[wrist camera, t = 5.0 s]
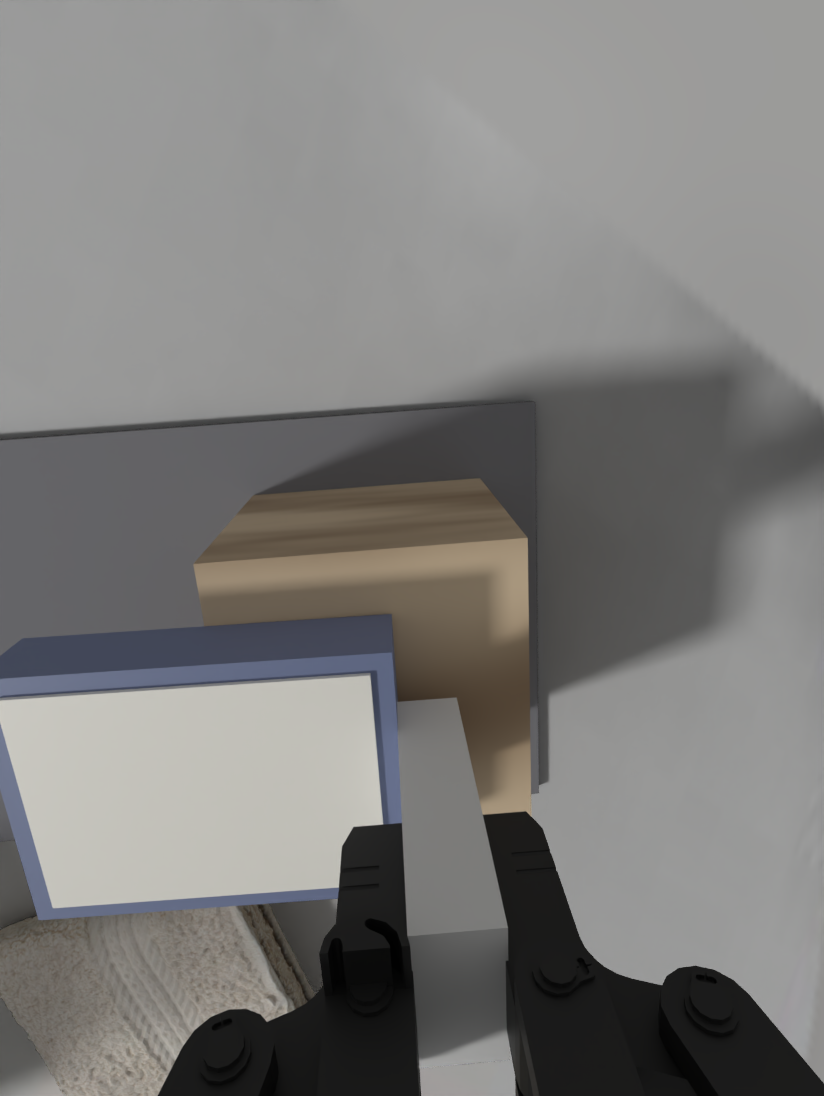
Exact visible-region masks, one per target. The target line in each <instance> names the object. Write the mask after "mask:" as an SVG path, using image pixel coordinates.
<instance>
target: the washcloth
mask: <svg viewBox="0 0 824 1096" xmlns="http://www.w3.org/2000/svg"><path fill="white" fill-rule="evenodd" d="M314 996H315V994H314V992H313V991H312V988H311V986H310V985H309V982H308V980H307V978H306V976H305V974H304V972H303V971H302V969H301V967H300V965H299V963H298V961H297V960H296V958H295V955H294V953H293V952H292V949H291V947H290V946H289V943H288V941H287V940H286V938H285V936H284V934H283V933H282V931H281V929H280V927H279V924H278V922H277V921H276V918H275V916H274V914H273V912H272V909H271V907H270V905H269V904H256V905H242V906H228V907H215V908H201V909H187V910H174V911H160V912H146V913H133V914H119V915H106V916H92V917H78V918H65V919H51V920H38V917H37V915H36V916H35V917H33V918H28V919H25V920H23V921H20V922H17V923H15V924H11V925H9V926H7V927H5V928H3V929H2V930H0V998H1V999H3V1000H4V1001H5V1004H6V1006H7V1008H8V1009H9V1010H10V1011H11V1012H12V1013H13V1015H12V1016H13V1017H15V1021H16V1022H17V1023H18V1024H19V1025H21V1026H22V1027H23V1028H24V1030H25V1031H26V1032H27V1033H29V1034H28V1037H27V1038H28V1040H31V1041H32V1042H33V1043H34V1044H35V1047H36V1051H38V1052H39V1054H40V1055H41V1057H42V1059H43V1060H44V1061H45V1063H46V1066H47V1067H48V1068H49V1071H50V1073H51V1074H52V1075H53V1076H54V1077H55V1080H56V1081H57V1084H58V1086H59V1087H60V1091H62V1094H66V1096H158V1094H159V1092H160V1090H161V1088H162V1086H163V1084H164V1082H165V1080H166V1078H167V1076H168V1074H169V1072H170V1070H171V1068H172V1066H173V1065H174V1063H175V1061H176V1059H177V1057H178V1055H179V1053H180V1051H181V1049H182V1047H183V1046H184V1044H185V1043H186V1041H187V1040H188V1039H189V1037H190V1036H191V1034H192V1033H193V1031H194V1030H195V1029H197V1028H198V1027H199V1026H200V1025H201V1024H203V1023H204V1022H205V1021H206V1020H208V1019H209V1018H210V1017H212V1016H214V1015H217V1014H219V1013H222V1012H224V1011H226V1010H230V1009H248V1010H251V1011H253V1012H256V1013H258V1014H261V1015H262V1017H263V1018H264V1019H265V1020H266V1022H268V1021H270V1020H272V1019H275V1018H277V1017H279V1016H282V1015H284V1014H286V1013H289V1012H291V1011H293V1010H295V1009H297V1008H299V1007H300V1006H302V1005H304V1004H306V1003H307V1002H308V1001H309V1000H310V999H312V998H313V997H314Z"/></svg>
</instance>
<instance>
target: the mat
mask: <svg viewBox="0 0 824 1096" xmlns="http://www.w3.org/2000/svg"><path fill="white" fill-rule="evenodd" d="M475 478H480V479H481V480H482V481H483V483H484V484H485V485H486V486H487V488H488V489H489V490H490V491H491V493H492V494H493V495H494V496H495V498H496V499H497V500H498V501H499V503H500V504H501V505H502V506H503V508H504V509H505V510H506V511H507V513H508V514H509V515H510V516H511V518H512V519H513V520H514V521H515V523H516V524H517V525H518V526H519V528H520V529H521V530H522V531H523V533H524V534H525V535H526V536H527V538H528V599H529V675H530V751H531V794H535V793H539V763H538V650H537V538H536V425H535V402H534V401H529V402H515V403H501V404H487V405H473V406H459V407H445V408H432V409H418V410H404V411H390V412H376V413H362V414H348V415H334V416H321V417H307V418H293V419H279V420H265V421H251V422H237V423H223V424H210V425H196V426H182V427H168V428H154V429H140V430H126V431H112V432H99V433H85V434H71V435H57V436H43V437H29V438H15V439H2V440H0V656H1V655H2V654H3V653H4V652H6V651H7V650H8V649H9V648H11V647H12V646H13V645H15V644H16V643H17V642H18V641H20V640H21V639H22V638H35V637H50V636H66V635H81V634H96V633H111V632H126V631H141V630H156V629H171V628H186V627H202V626H204V622H203V616H202V610H201V605H200V599H199V593H198V588H197V582H196V576H195V571H194V565H193V564H194V563H195V561H196V560H197V559H198V558H199V557H200V556H201V555H202V553H203V552H204V551H205V550H206V549H207V548H208V547H209V545H210V544H211V543H212V542H213V541H214V540H215V539H216V537H217V536H218V535H219V534H220V533H221V532H222V530H223V529H224V528H225V527H226V526H227V525H228V524H229V522H230V521H231V520H232V519H233V518H234V517H235V516H236V514H237V513H238V512H239V511H240V510H241V509H242V508H243V506H244V505H245V504H246V503H247V502H248V501H249V500H250V498H251V497H252V496H253V495H263V494H276V493H290V492H303V491H316V490H329V489H343V488H356V487H369V486H382V485H396V484H409V483H422V482H436V481H449V480H462V479H475ZM10 840H15V838H14V835H13V832H12V828H11V825H10V821H9V818H8V815H7V811H6V808H5V804H4V801H3V798H2V794H1V791H0V841H10Z"/></svg>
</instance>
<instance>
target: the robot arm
mask: <svg viewBox="0 0 824 1096" xmlns="http://www.w3.org/2000/svg"><path fill="white" fill-rule="evenodd" d="M397 715H398V751H399V772H400V793H401V813H402V823H395V824H383V825H370V826H358V827H353V829H352V830H351V832H350V834H349V835H348V837H347V839H346V841H345V842H344V844H343V846H342V851H341V865H340V878H339V891H338V904H337V918H336V925H334V927H333V928H332V929H331V930H330V932H329V933H328V934H327V935H326V937H325V938H324V940H323V944H322V947H321V950H320V953H319V955H320V963H321V970H322V978H323V987H322V988H321V989H320V990H319V992H318V993H317V994H316V995H315V996H314V997H313V998H312V999H310V1000H309V1001H308V1002H307V1003H306V1004H304V1005H302V1006H300V1007H299V1008H297V1009H295V1010H293V1011H291V1012H289V1013H286V1014H284V1015H282V1016H279V1017H277V1018H275V1019H272V1020H270V1021H268V1022H266V1020H265V1019H264V1018H263V1017H262V1015H261V1014H258V1013H256V1012H253V1011H251V1010H248V1009H230V1010H226V1011H224V1012H222V1013H219V1014H217V1015H214V1016H212V1017H210V1018H209V1019H208V1020H206V1021H205V1022H204V1023H203V1024H201V1025H200V1026H199V1027H198V1028H197V1029H195V1030H194V1031H193V1033H192V1034H191V1036H190V1037H189V1039H188V1040H187V1041H186V1043H185V1044H184V1046H183V1047H182V1049H181V1051H180V1053H179V1055H178V1057H177V1059H176V1061H175V1063H174V1065H173V1066H172V1068H171V1070H170V1072H169V1074H168V1076H167V1078H166V1080H165V1082H164V1084H163V1086H162V1088H161V1090H160V1092H159V1094H158V1096H421V1086H420V1068H430V1067H441V1066H452V1065H463V1064H473V1063H484V1062H495V1061H506V1060H510V1050H511V1055H512V1061H513V1066H514V1071H515V1081H516V1096H824V1083H823V1082H822V1081H821V1080H820V1078H819V1077H818V1076H817V1075H816V1074H815V1073H814V1071H813V1070H812V1069H811V1068H810V1067H809V1065H808V1064H807V1063H806V1062H805V1061H804V1059H803V1058H802V1057H801V1056H800V1055H799V1053H798V1052H797V1051H796V1050H795V1049H794V1048H793V1046H792V1045H791V1044H790V1043H789V1042H788V1040H787V1039H786V1038H785V1037H784V1036H783V1034H782V1033H781V1032H780V1031H779V1030H778V1029H777V1027H776V1026H775V1025H774V1024H773V1023H772V1021H771V1020H770V1019H769V1018H768V1017H767V1015H766V1014H765V1013H764V1012H763V1011H762V1009H761V1008H760V1007H759V1006H758V1005H757V1004H756V1002H755V1001H754V1000H753V999H752V998H751V996H750V995H749V994H748V993H747V992H746V991H745V990H743V989H742V988H741V987H740V986H739V985H738V984H737V983H736V982H735V981H734V980H732V979H730V978H728V977H727V976H725V975H723V974H721V973H719V972H717V971H715V970H712V969H707V968H703V967H698V966H691V967H683V968H678V969H677V970H675V971H674V972H672V973H671V974H669V975H668V976H667V977H666V979H665V981H664V983H663V985H657V984H653V983H648V982H644V981H639V980H635V979H631V978H628V977H625V976H622V975H619V974H616V973H614V972H613V971H611V970H609V969H607V968H605V967H604V966H603V965H601V964H600V963H599V962H598V961H597V960H595V959H594V958H593V956H592V955H591V954H590V953H589V952H588V951H587V949H586V948H585V947H584V945H583V943H582V941H581V939H580V937H579V934H578V931H577V928H576V925H575V922H574V919H573V916H572V913H571V911H570V908H569V905H568V902H567V899H566V896H565V893H564V890H563V887H562V884H561V881H560V878H559V875H558V872H557V871H556V867H555V864H554V861H553V858H552V855H551V854H550V849H549V846H548V843H547V840H546V837H545V834H544V832H543V829H542V828H541V826H540V825H539V824H538V823H537V822H536V821H535V820H534V819H533V818H532V817H531V816H530V815H529V814H528V813H527V812H526V811H523V812H510V813H498V814H485V815H483V814H482V809H481V805H480V800H479V796H478V791H477V787H476V782H475V778H474V773H473V769H472V764H471V760H470V755H469V751H468V746H467V742H466V737H465V733H464V728H463V724H462V720H461V715H460V711H459V706H458V702H457V697H455V698H442V699H429V700H416V701H402V702H397Z"/></svg>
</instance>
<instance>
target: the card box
mask: <svg viewBox="0 0 824 1096" xmlns="http://www.w3.org/2000/svg"><path fill="white" fill-rule="evenodd" d="M397 702H398V695H397V681H396V667H395V653H394V639H393V625H392V614H383V615H368V616H353V617H338V618H322V619H307V620H292V621H277V622H262V623H247V624H232V625H217V626H202V627H186V628H171V629H156V630H141V631H126V632H111V633H96V634H81V635H66V636H50V637H35V638H22V639H21V640H20V641H18V642H17V643H16V644H15V645H13V646H12V647H11V648H9V649H8V650H7V651H6V652H4V653H3V654H2V655H1V656H0V791H1V794H2V798H3V801H4V804H5V808H6V811H7V815H8V818H9V821H10V825H11V828H12V832H13V835H14V838H15V842H16V845H17V849H18V852H19V855H20V859H21V862H22V866H23V869H24V872H25V876H26V879H27V883H28V886H29V889H30V893H31V896H32V900H33V903H34V906H35V910H36V913H37V917H38V920H51V919H65V918H78V917H92V916H106V915H119V914H133V913H146V912H160V911H174V910H187V909H201V908H215V907H228V906H242V905H256V904H269V903H283V902H297V901H310V900H324V899H337V898H338V891H339V878H340V865H341V851H342V846H343V844H344V842H345V841H346V839H347V837H348V835H349V834H350V832H351V830H352V829H353V827H358V826H370V825H383V824H395V823H402V813H401V793H400V772H399V751H398V715H397Z"/></svg>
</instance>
